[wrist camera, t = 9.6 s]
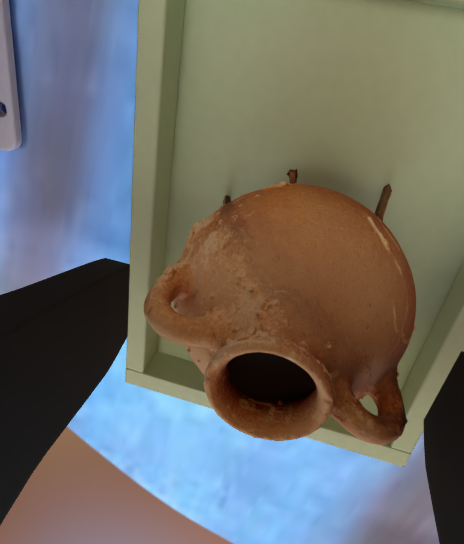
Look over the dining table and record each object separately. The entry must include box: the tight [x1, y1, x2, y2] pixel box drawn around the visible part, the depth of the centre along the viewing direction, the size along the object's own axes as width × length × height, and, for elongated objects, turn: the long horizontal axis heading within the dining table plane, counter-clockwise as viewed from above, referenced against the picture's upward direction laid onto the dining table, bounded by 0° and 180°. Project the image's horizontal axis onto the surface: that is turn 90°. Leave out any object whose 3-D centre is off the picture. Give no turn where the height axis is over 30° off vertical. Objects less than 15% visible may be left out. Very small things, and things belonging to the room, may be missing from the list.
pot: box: [144, 169, 416, 445], centre depth 12 cm, size 6×8×6 cm
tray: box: [125, 0, 464, 467], centre depth 14 cm, size 16×12×2 cm
